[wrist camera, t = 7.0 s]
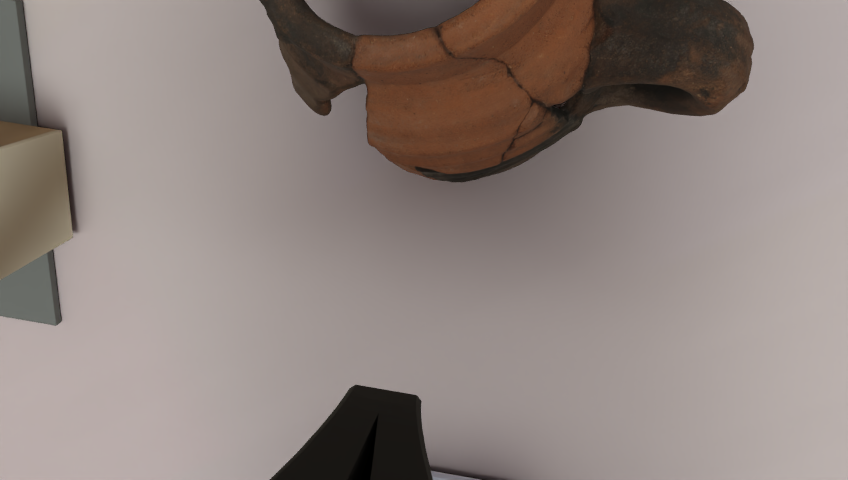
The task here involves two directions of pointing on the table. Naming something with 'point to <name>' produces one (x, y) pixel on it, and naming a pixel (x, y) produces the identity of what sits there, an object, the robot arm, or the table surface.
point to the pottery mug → (516, 73)
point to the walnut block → (31, 194)
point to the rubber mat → (14, 102)
